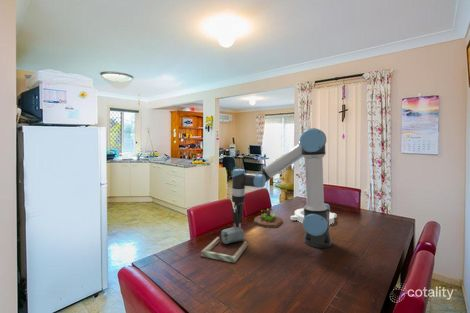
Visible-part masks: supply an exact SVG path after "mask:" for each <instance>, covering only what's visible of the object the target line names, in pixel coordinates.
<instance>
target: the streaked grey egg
mask: <svg viewBox="0 0 470 313" xmlns="http://www.w3.org/2000/svg"><path fill="white" fill-rule="evenodd" d="M220 237H221V239H220V240H221V241H222V243H223V244H225V245H228V244H231V243H237V242H241V241H244V240H245V239H244V238H245V233H244V229H243V228H242V227H241V226H240V227H235V226H233V227H229V228H225V229H223V230H221V232H220Z"/></svg>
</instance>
